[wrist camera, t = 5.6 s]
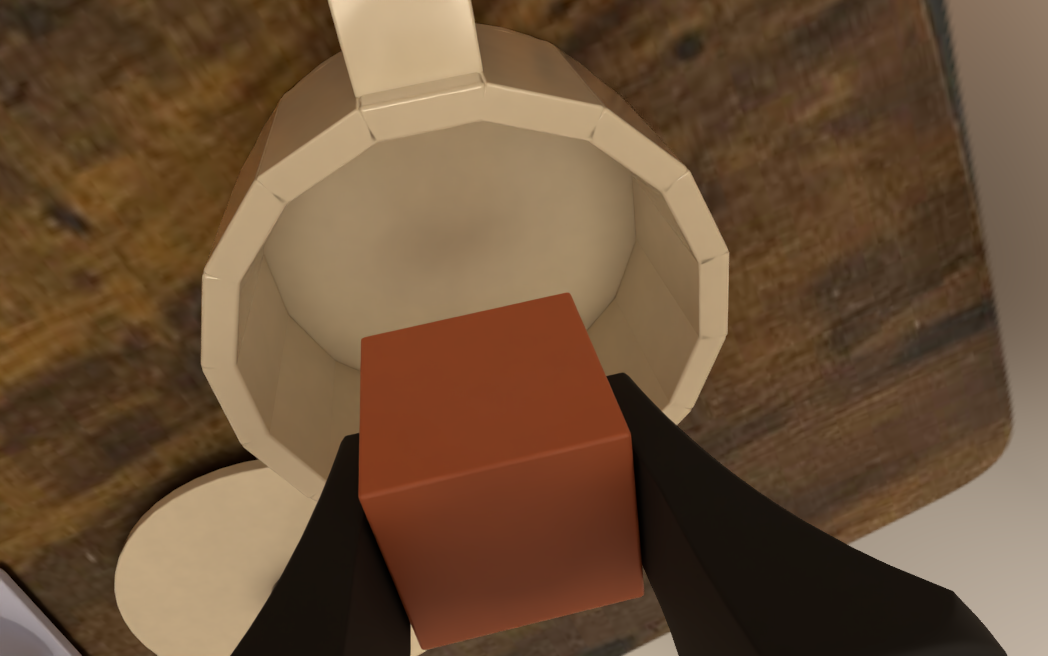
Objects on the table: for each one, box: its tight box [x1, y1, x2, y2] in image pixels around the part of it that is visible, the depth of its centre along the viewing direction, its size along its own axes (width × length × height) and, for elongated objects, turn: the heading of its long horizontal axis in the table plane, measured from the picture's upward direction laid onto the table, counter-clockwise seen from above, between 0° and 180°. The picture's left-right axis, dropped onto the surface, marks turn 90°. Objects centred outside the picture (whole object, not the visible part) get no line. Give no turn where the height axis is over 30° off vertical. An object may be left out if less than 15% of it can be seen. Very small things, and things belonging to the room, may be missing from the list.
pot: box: [201, 0, 729, 501], centre depth 18 cm, size 11×17×6 cm
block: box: [358, 292, 644, 650], centre depth 13 cm, size 4×4×4 cm
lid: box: [114, 459, 426, 656], centre depth 25 cm, size 12×12×5 cm
